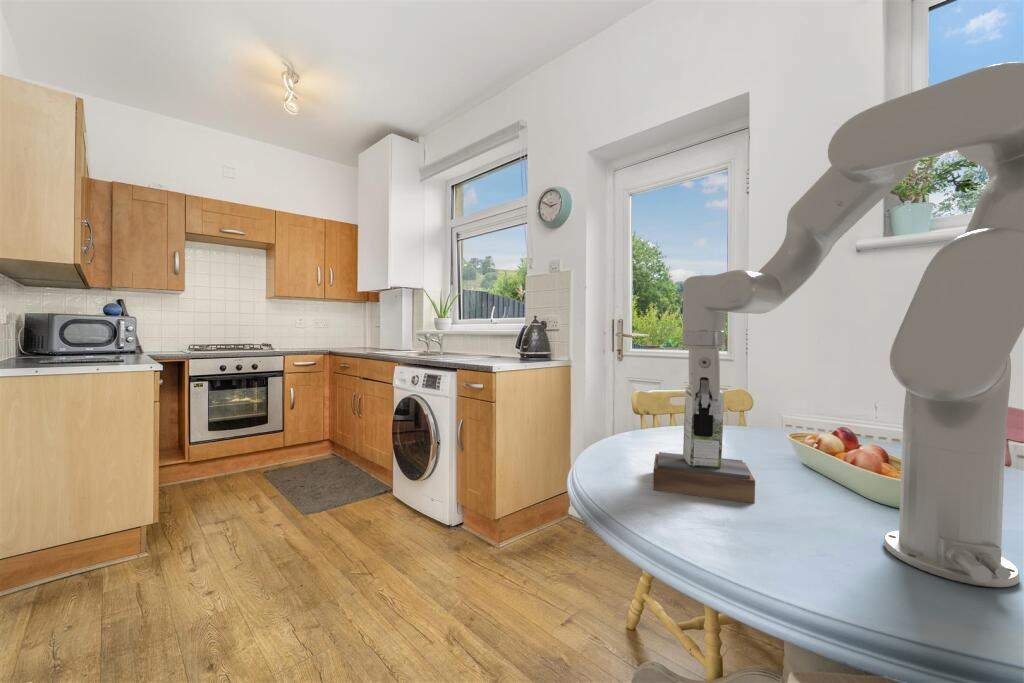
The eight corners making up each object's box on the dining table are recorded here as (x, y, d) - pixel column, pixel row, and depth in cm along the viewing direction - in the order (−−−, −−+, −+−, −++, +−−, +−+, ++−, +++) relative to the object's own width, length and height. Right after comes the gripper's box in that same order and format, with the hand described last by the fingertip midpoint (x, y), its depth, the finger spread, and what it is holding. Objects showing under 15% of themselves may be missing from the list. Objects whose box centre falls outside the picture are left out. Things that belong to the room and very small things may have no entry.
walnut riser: (754, 503, 76) (755, 477, 76) (653, 490, 82) (653, 466, 82) (744, 482, 87) (745, 459, 87) (655, 472, 93) (655, 450, 92)
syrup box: (712, 459, 86) (715, 387, 86) (722, 469, 80) (724, 391, 80) (682, 458, 87) (684, 386, 87) (689, 467, 81) (692, 390, 81)
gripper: (730, 342, 74) (728, 443, 75) (720, 339, 91) (718, 423, 91) (683, 341, 77) (681, 439, 77) (681, 339, 93) (680, 420, 94)
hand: (701, 430), depth 84 cm, fingers open, 8 cm apart
